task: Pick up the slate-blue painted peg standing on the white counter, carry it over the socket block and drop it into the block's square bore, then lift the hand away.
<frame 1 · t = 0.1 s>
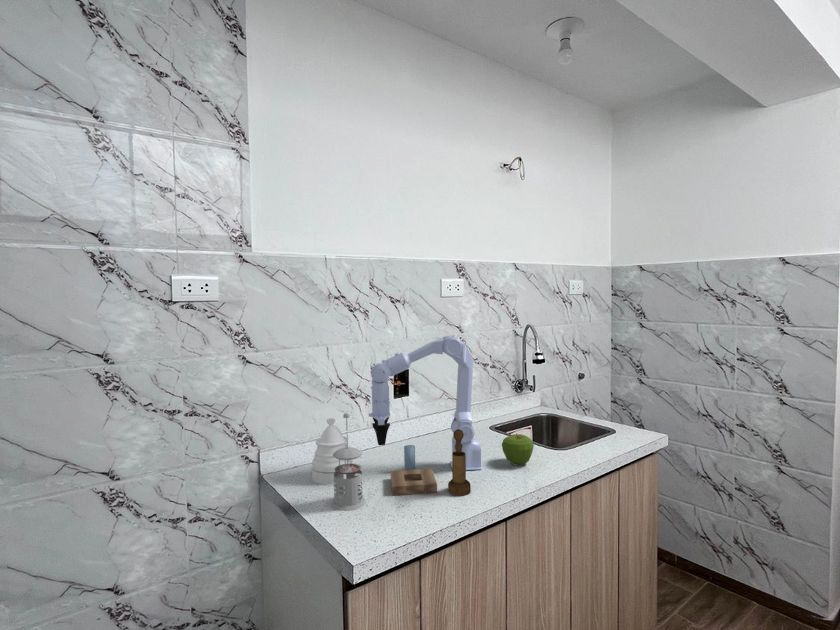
hand: (381, 441, 142), 10 cm above the worktop, fingers open, 7 cm apart
peg: (410, 470, 143), on the worktop
socket block: (413, 485, 131), on the worktop
apple: (518, 464, 147), on the worktop
french press: (347, 502, 121), on the worktop
mortar and pestle: (459, 491, 126), on the worktop
honey pot: (332, 477, 139), on the worktop
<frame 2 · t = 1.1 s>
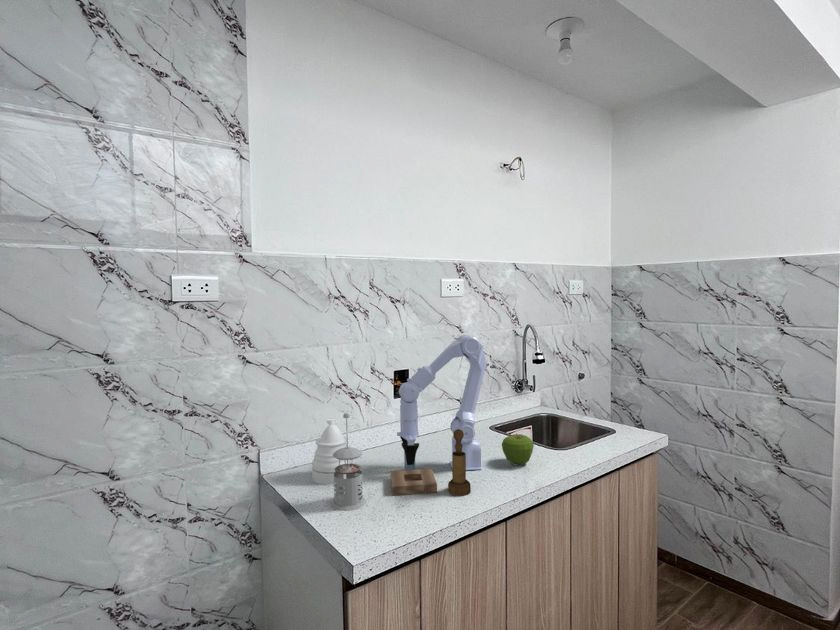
hand: (409, 460, 143), 3 cm above the worktop, fingers open, 7 cm apart
nothing on the worktop moved.
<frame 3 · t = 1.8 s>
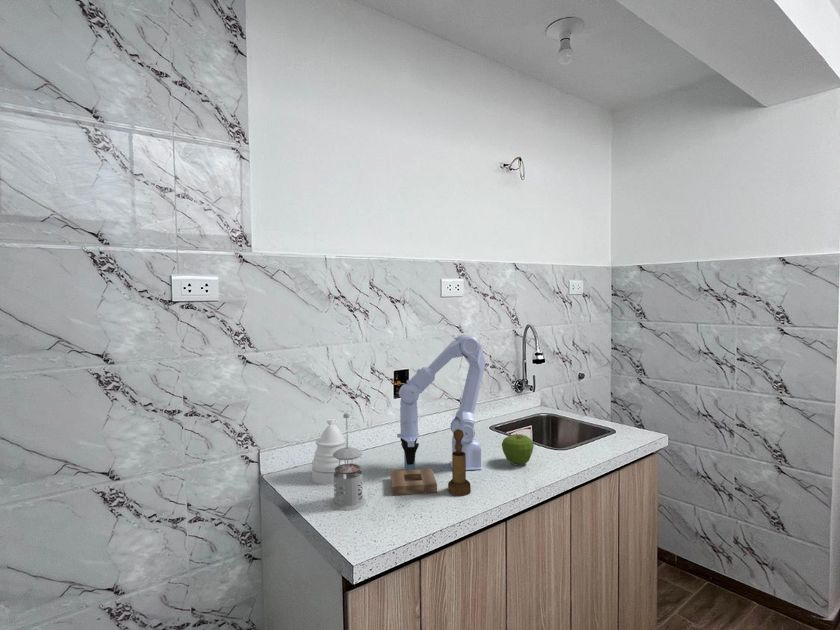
hand: (409, 461, 143), 3 cm above the worktop, fingers closed on peg, 4 cm apart
peg: (410, 470, 143), on the worktop, touching gripper
everything else where it was.
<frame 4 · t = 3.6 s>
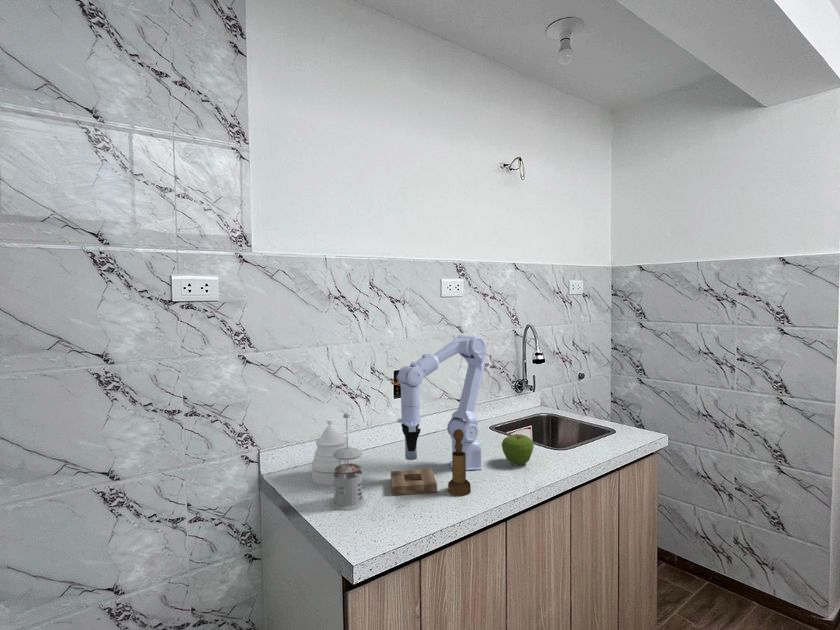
hand: (411, 448, 134), 10 cm above the worktop, fingers closed on peg, 4 cm apart
peg: (411, 458, 134), point 7 cm above the worktop, touching gripper
everything else where it was.
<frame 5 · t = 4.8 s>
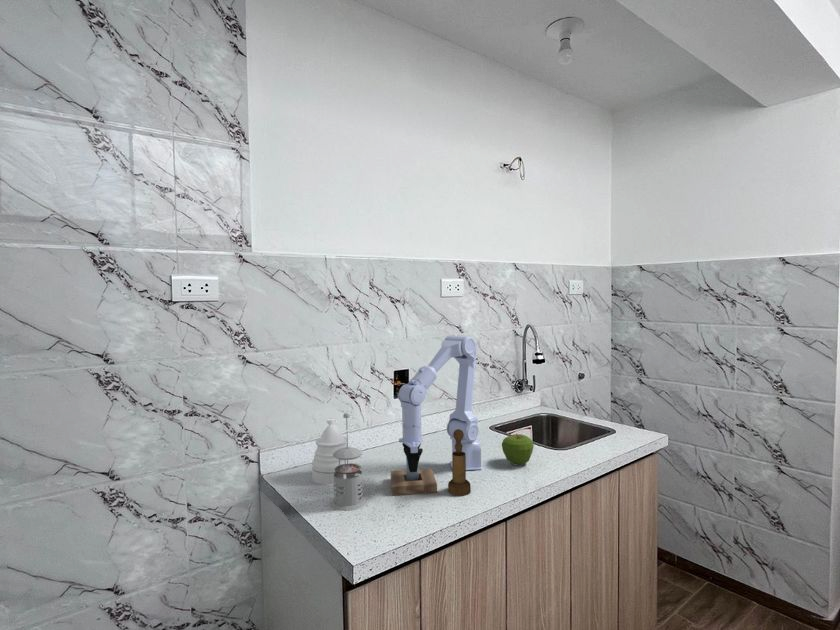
hand: (412, 469, 131), 5 cm above the worktop, fingers closed on peg, 4 cm apart
peg: (412, 478, 131), point 2 cm above the worktop, touching gripper
everything else where it was.
when the fingers open (4 cm above the worktop, at t = 5.4 s): peg stays where it is, resting in socket block.
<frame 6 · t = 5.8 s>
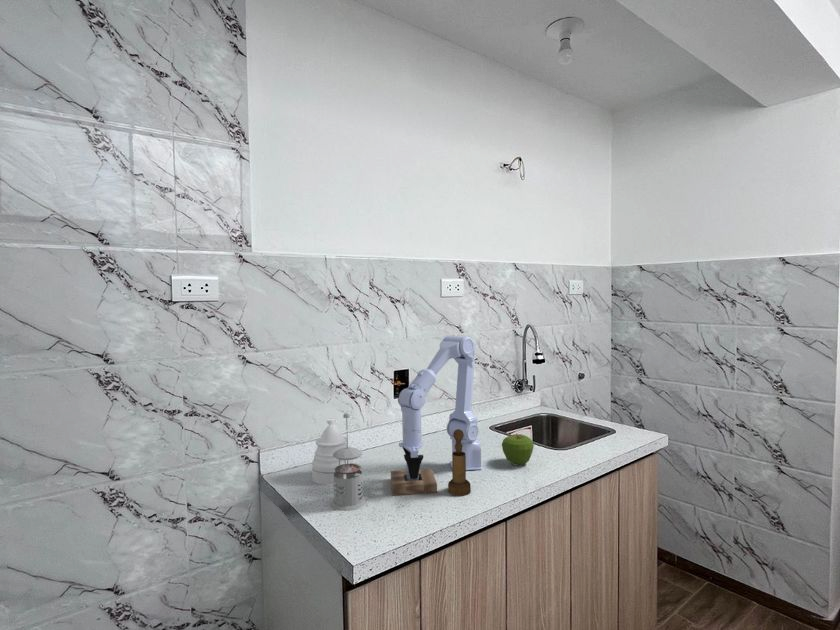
hand: (412, 473, 131), 4 cm above the worktop, fingers open, 7 cm apart
peg: (412, 485, 131), resting in socket block
everything else where it was.
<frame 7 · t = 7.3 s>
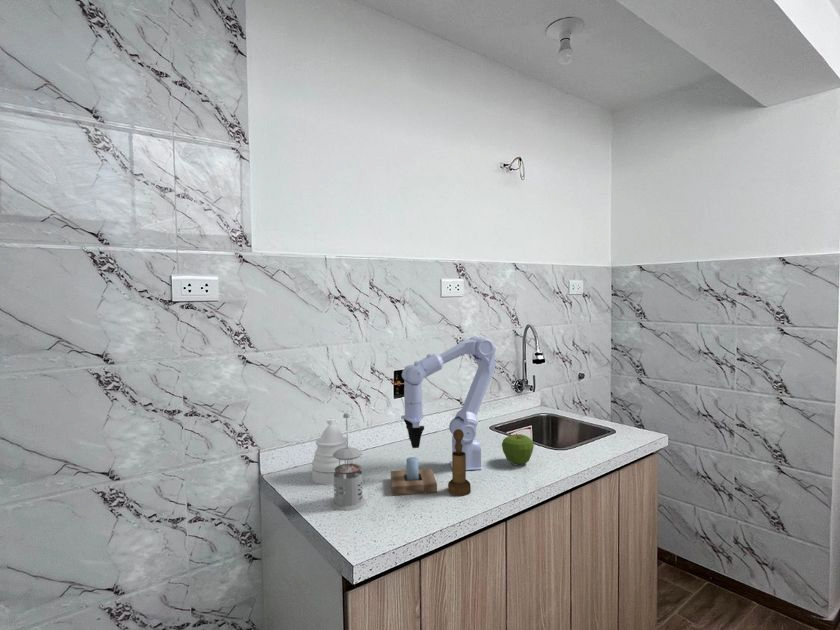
hand: (414, 443, 140), 10 cm above the worktop, fingers open, 7 cm apart
nothing on the worktop moved.
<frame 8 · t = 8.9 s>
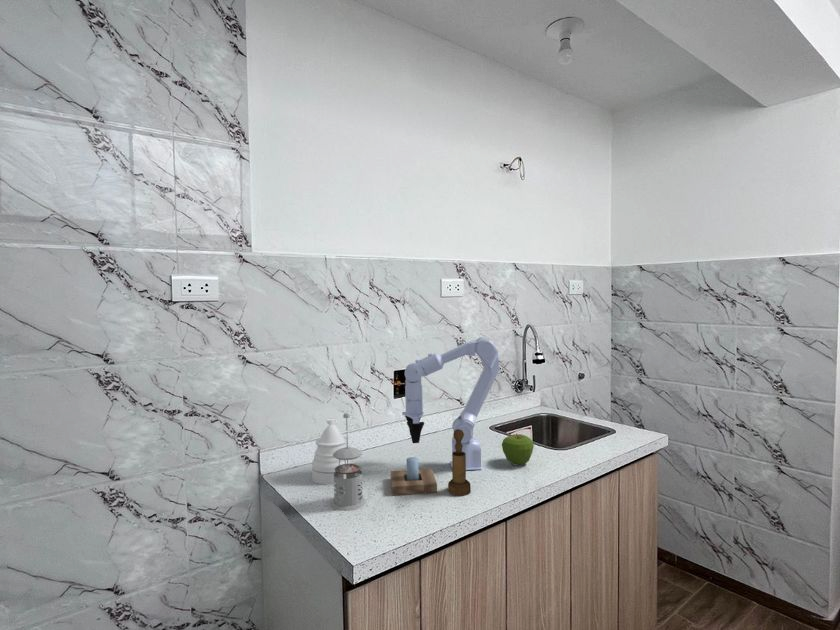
hand: (414, 439, 146), 9 cm above the worktop, fingers open, 7 cm apart
nothing on the worktop moved.
at the end: peg 0.1 cm off-centre on the socket block, point 0.0 cm above the socket block's base; peg tilted 0°; the gripper is holding nothing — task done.
